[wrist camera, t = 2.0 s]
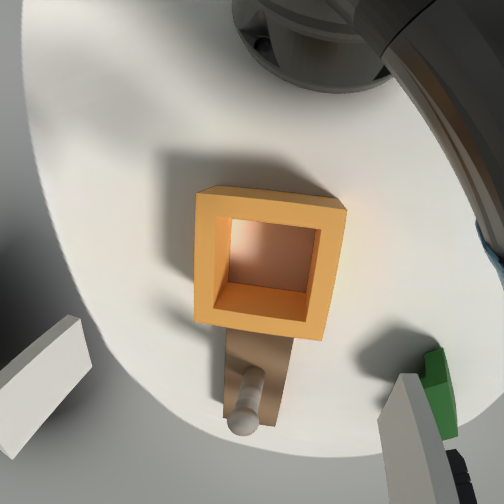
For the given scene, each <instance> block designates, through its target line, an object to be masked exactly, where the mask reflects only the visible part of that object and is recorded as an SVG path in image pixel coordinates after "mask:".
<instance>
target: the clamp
mask: <svg viewBox="0 0 504 504" xmlns="http://www.w3.org/2000/svg"><path fill="white" fill-rule="evenodd" d="M424 356H425V368H426V373H423V374H420V375H418V377H419V379H420V382H421V384H422V387H423V389H424V392H425V394H426V397H427V400H428V402H429V405H430V408H431V410H432V413H433V416H434V419H435V421H436V424H437V427H438V430H439V433H440V436H441V439H442V441H443V440H447V439H450V438H454V437H457V436H458V427H457V414H456V404H455V397H454V392H453V387H452V382H451V377H450V373H449V369H448V364H447V360H446V356H445V352H444V349H443V347H442V348H440V349H437V350H434V351H431V352H428V353H425V354H424Z"/></svg>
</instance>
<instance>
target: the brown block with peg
mask: <svg viewBox="0 0 504 504" xmlns="http://www.w3.org/2000/svg"><path fill="white" fill-rule="evenodd" d="M293 339H294V338H293V337H286V336H278V335H271V334H265V333H258V332H251V331H245V330H239V329H233V328H227V330H226V352H225V377H224V405H223V418H226V419H227V424H228V427H229V429H230V430H231V431H232V432H233V433H234V434H236V435H239V436H248V435H251V434H252V433H254V432H255V431H256V430H257V428H258V426H259V424H260V425H266V426H274V427H275V425H276V421H277V417H278V412H279V408H280V403H281V399H282V394H283V389H284V384H285V380H286V375H287V370H288V365H289V360H290V355H291V350H292V344H293Z"/></svg>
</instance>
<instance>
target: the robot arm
mask: <svg viewBox="0 0 504 504" xmlns="http://www.w3.org/2000/svg"><path fill="white" fill-rule="evenodd" d="M232 13H233V19H234V23H235V26H236V29H237V31H238V33H239V35H240V37H241V39H242V40H243V42H244V44H245V46H246V47H247V49H248V50H249V52H250V53H251V54H252V55H253V57H254V58H255V59H256V60H257V61H258V62H259V63H260V64H261V65H262V66H264V67H265V68H266V69H267V70H269V71H270V72H271V73H273V74H274V75H276V76H278V77H279V78H281V79H283V80H285V81H287V82H289V83H292V84H294V85H296V86H299V87H302V88H306V89H309V90H313V91H318V92H325V93H354V92H360V91H364V90H368V89H371V88H374V87H377V86H379V85H381V84H383V83H385V82H386V81H388V80H389V79H391V78H392V77H394V78H395V79H396V80H397V82H398V83H399V84H400V86H401V87H402V88H403V90H404V91H405V92H406V94H407V95H408V96H409V98H410V99H411V101H412V102H413V104H414V105H415V106H416V108H417V109H418V111H419V112H420V114H421V115H422V117H423V118H424V120H425V122H426V123H427V125H428V126H429V128H430V130H431V131H432V133H433V134H434V136H435V138H436V139H437V141H438V143H439V144H440V146H441V148H442V150H443V151H444V153H445V155H446V157H447V159H448V160H449V162H450V164H451V166H452V168H453V170H454V172H455V174H456V176H457V178H458V180H459V182H460V184H461V186H462V188H463V190H464V192H465V194H466V196H467V198H468V201H469V203H470V205H471V207H472V210H473V212H474V214H475V217H476V222H475V225H476V229H477V232H478V236H479V238H480V241H481V243H482V245H483V248H484V250H485V253H486V254H487V256H488V258H489V260H490V262H491V263H492V264H493V266H494V267H495V269H496V271H497V273H498V276H499V278H500V281H501V284H502V287H503V290H504V0H232ZM91 367H92V365H91V361H90V357H89V353H88V350H87V346H86V342H85V338H84V333H83V329H82V325H81V320H80V318H76V317H74V316H71V315H67V316H66V317H64V318H63V319H62V320H61V321H59V322H58V323H57V324H56V325H54V326H53V327H52V328H51V329H50V330H48V331H47V332H46V333H44V334H43V335H42V336H41V337H40V338H38V339H37V340H36V341H35V342H34V343H32V344H31V345H30V346H29V347H27V348H26V349H25V350H24V351H23V352H22V353H20V354H19V355H18V356H17V357H16V358H15V359H13V360H12V361H8V362H6V363H4V364H2V365H0V450H1V451H2V452H4V453H5V454H6V455H7V456H8V457H10V458H11V459H13V458H14V457H15V456H16V455H17V454H18V452H19V451H20V450H21V449H22V447H23V446H24V445H25V444H26V443H27V441H28V440H29V439H30V438H31V437H32V435H33V434H34V433H35V432H36V430H37V429H38V428H39V427H40V426H41V425H42V423H43V422H44V421H45V420H46V419H47V417H48V416H49V415H50V414H51V413H52V412H53V411H54V409H55V408H56V407H57V406H58V405H59V404H60V403H61V401H62V400H63V399H64V398H65V397H66V396H67V394H68V393H69V392H70V391H71V390H72V389H73V388H74V387H75V385H76V384H77V383H78V382H79V381H80V380H81V379H82V377H83V376H84V375H85V374H86V373H87V372H88V371H89V370H90V369H91ZM377 422H378V427H379V433H380V439H381V445H382V451H383V457H384V463H385V471H386V479H387V486H388V495H389V504H477V500H476V497H475V493H474V490H473V486H472V483H470V481H471V479H470V476H469V473H467V472H468V470H467V467H466V463H465V460H464V458H463V457H462V456H461V455H460V454H459V452H458V451H457V450H456V449H452V450H446V451H445V448H444V445H443V442H442V439H441V436H440V433H439V430H438V427H437V424H436V421H435V419H434V416H433V413H432V410H431V408H430V405H429V402H428V400H427V397H426V394H425V392H424V389H423V387H422V384H421V382H420V379H419V377H418V374H417V373H400V375H399V377H398V379H397V381H396V383H395V385H394V388H393V390H392V392H391V394H390V396H389V398H388V400H387V402H386V404H385V406H384V408H383V410H382V412H381V414H380V416H379V418H378V419H377Z"/></svg>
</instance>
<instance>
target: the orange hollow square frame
mask: <svg viewBox="0 0 504 504" xmlns="http://www.w3.org/2000/svg"><path fill="white" fill-rule="evenodd" d="M346 215H347V209H346V208H345V207H344V205H343V204H342V203H341V202H340V200H339V199H335V198H328V197H320V196H313V195H305V194H297V193H289V192H280V191H271V190H262V189H252V188H242V187H231V186H219V185H216V186H213V187H211V188H208V189H205V190H203V191H200V192H198V193H196V211H195V245H194V322H200V323H205V324H210V325H216V326H221V327H227V328H233V329H239V330H245V331H251V332H258V333H265V334H271V335H278V336H286V337H293V338H301V339H309V340H318V341H322V338H323V334H324V330H325V325H326V321H327V317H328V312H329V308H330V303H331V298H332V294H333V289H334V284H335V279H336V274H337V268H338V263H339V258H340V252H341V246H342V240H343V234H344V228H345V222H346ZM232 219H240V220H249V221H257V222H266V223H274V224H282V225H290V226H298V227H306V228H314V229H316V232H315V239H314V246H313V252H312V259H311V265H310V272H309V278H308V284H307V290H306V293H304V292H296V291H289V290H281V289H274V288H267V287H259V286H252V285H245V284H239V283H232V282H228V275H229V258H230V241H231V225H232Z"/></svg>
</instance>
